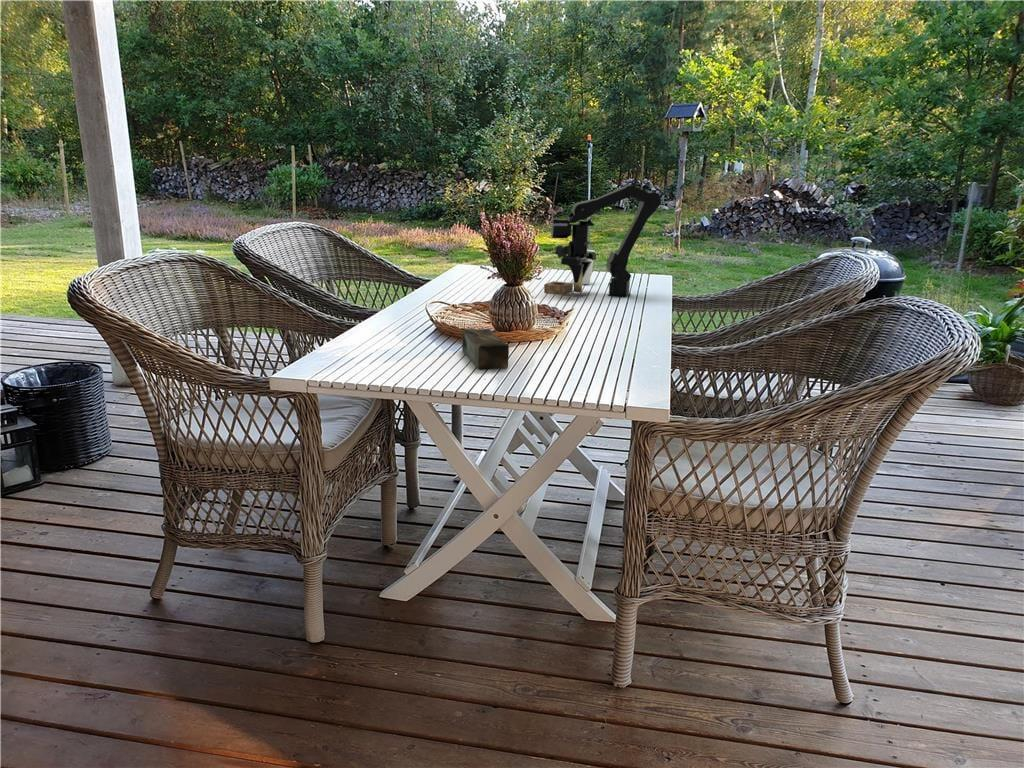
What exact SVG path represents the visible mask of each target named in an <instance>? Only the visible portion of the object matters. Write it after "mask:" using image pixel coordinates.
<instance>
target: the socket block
mask: <svg viewBox="0 0 1024 768" xmlns="http://www.w3.org/2000/svg"><path fill="white" fill-rule="evenodd" d="M543 286H544V287H543V290H544V291H543V292H544V294H549V295H550V294H552V295H558V296H564V295H567V294H569V293H574V282H567V281H566V282H565V281H557V280H556V281H555V280H553V281H550V282H547V283H545V284H544V285H543Z"/></svg>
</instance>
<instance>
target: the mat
mask: <svg viewBox="0 0 1024 768" xmlns="http://www.w3.org/2000/svg"><path fill="white" fill-rule="evenodd" d="M589 295H590V294H589V293H581V292H571V293H568V294H566V295H563V296H564V297H571V298H578V299H579V298H580V299H581V298H584V297H587V296H589Z"/></svg>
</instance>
